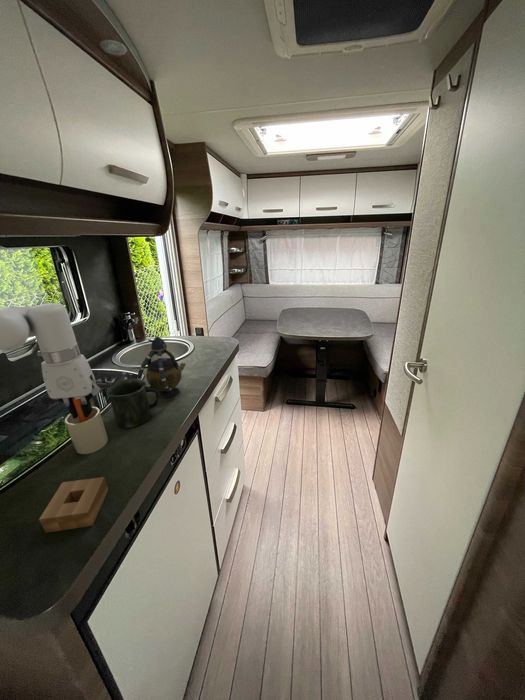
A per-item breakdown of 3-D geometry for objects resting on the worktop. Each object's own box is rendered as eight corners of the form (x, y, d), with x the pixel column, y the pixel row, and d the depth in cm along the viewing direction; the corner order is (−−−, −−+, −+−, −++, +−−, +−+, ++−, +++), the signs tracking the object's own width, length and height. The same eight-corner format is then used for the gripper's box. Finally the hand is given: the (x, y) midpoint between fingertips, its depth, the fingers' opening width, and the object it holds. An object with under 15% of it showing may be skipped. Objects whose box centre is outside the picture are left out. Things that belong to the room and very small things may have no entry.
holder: (45, 533, 56) (38, 519, 55) (67, 494, 64) (62, 482, 63) (92, 525, 57) (87, 512, 56) (108, 489, 65) (104, 476, 64)
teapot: (140, 407, 97) (125, 345, 88) (172, 373, 120) (162, 322, 111) (172, 409, 95) (160, 346, 86) (198, 375, 118) (191, 322, 109)
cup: (70, 456, 76) (58, 426, 72) (83, 436, 83) (73, 408, 80) (101, 452, 77) (92, 422, 73) (112, 432, 84) (104, 405, 81)
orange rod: (85, 442, 78) (70, 400, 73) (89, 437, 80) (74, 396, 75) (93, 441, 79) (79, 399, 73) (97, 436, 81) (83, 395, 75)
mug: (118, 413, 94) (109, 382, 89) (163, 404, 98) (157, 374, 93) (112, 433, 84) (102, 399, 80) (162, 422, 88) (156, 390, 84)
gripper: (16, 363, 65) (43, 427, 72) (89, 356, 67) (108, 419, 74) (36, 350, 72) (59, 410, 79) (101, 345, 74) (118, 404, 81)
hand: (82, 414), depth 76 cm, fingers closed on orange rod, 2 cm apart
